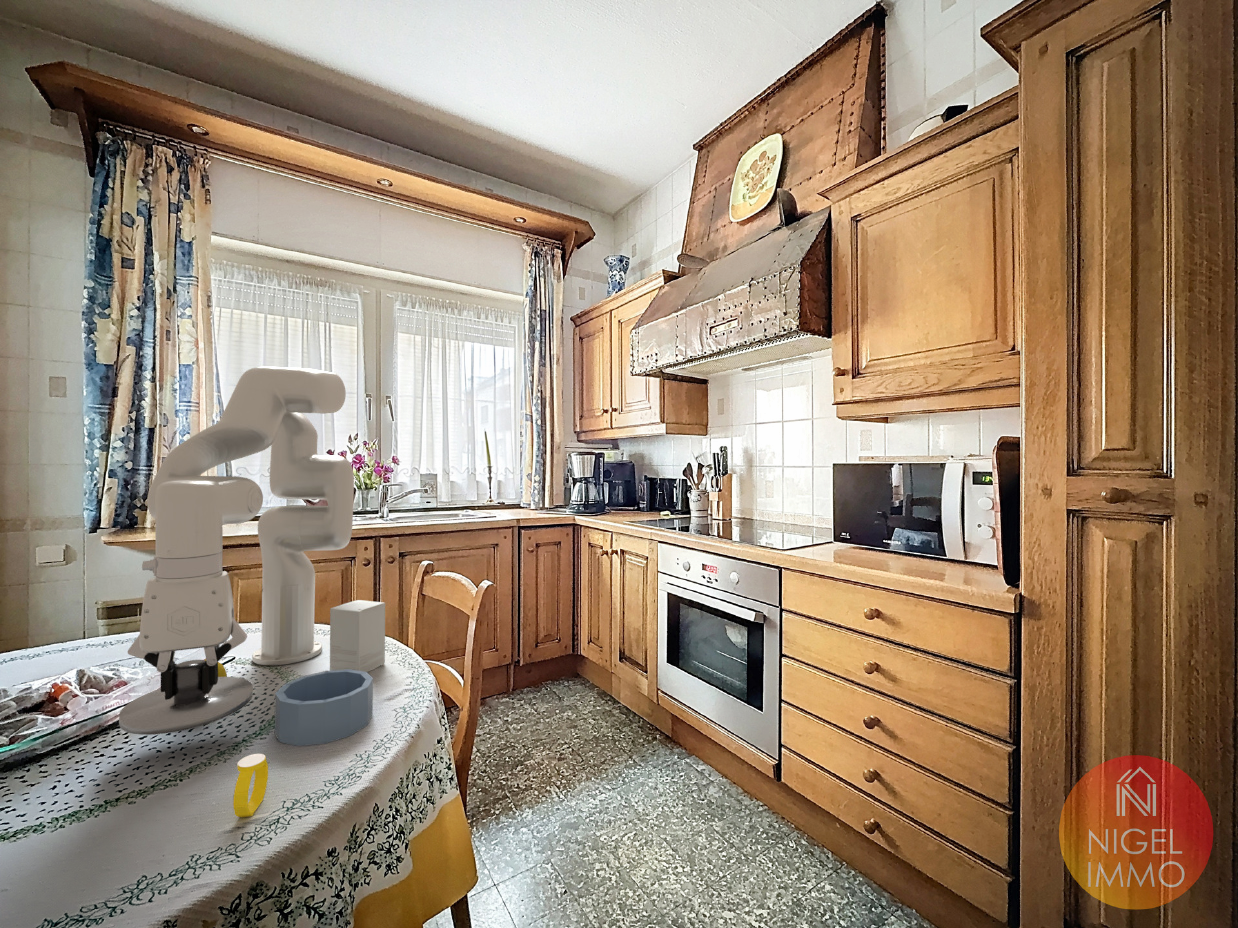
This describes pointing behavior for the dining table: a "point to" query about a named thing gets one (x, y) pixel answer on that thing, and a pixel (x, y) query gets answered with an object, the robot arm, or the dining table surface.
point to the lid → (185, 703)
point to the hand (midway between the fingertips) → (190, 691)
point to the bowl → (323, 707)
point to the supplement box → (357, 636)
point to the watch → (243, 784)
